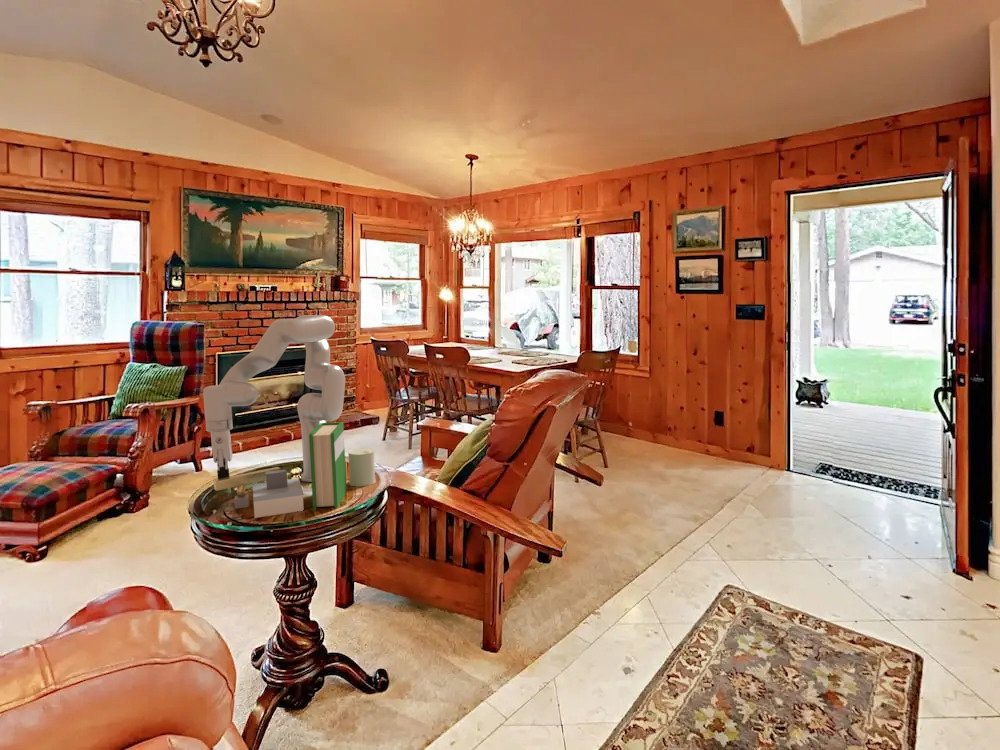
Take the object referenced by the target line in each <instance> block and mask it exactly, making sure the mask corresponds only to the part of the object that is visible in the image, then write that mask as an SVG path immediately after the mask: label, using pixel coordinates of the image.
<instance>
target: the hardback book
mask: <svg viewBox="0 0 1000 750" xmlns="http://www.w3.org/2000/svg"><path fill="white" fill-rule="evenodd" d="M344 426H345V425H344V422H342V421H337V422H334V421H331V422H327V423H320V424H319V425H318V426H317V427H316V428H315V429H314V430H313V431H312V432H311V433H310V434H309V442H310V460H311V479H312V482H311V492H312V493H311V495H312V510H315V511H316V510H317V509H318V508H319V507H334V509H339V506H340V504H341V502H342V500H343V499H344V497H345V495H346V492H347V474H346V473H347V472H346V469H347V468H346V453H345V452H346V451H345V431H344Z"/></svg>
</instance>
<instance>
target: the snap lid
mask: <svg viewBox="0 0 1000 750" xmlns="http://www.w3.org/2000/svg"><path fill="white" fill-rule="evenodd" d="M300 495H303V496H304V490H303V487H302V484H301V480H300V477H298V478H291V479H288V471H287V469H281V470H276V471H268V472H266V480H265V482H257V483H252V496H253V497H252V499H253V503H254V502H256V501H263V500H271V499H278V498H285V497H292V496H300Z"/></svg>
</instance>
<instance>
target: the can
mask: <svg viewBox="0 0 1000 750" xmlns="http://www.w3.org/2000/svg"><path fill="white" fill-rule="evenodd" d="M347 454H348V466H349V467H348V468H349V470H348V471H349V485H350V486H352V487H367V486H371V485H374V484H376V482H377V480H376V471H375V470H376V467H375V466H376V465H375V449H373V448H370V447H369V448H366V447H365V448H363V447H362V448H355V449H351V450H349V451H348V452H347Z"/></svg>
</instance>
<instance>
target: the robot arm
mask: <svg viewBox="0 0 1000 750" xmlns="http://www.w3.org/2000/svg"><path fill="white" fill-rule="evenodd" d="M335 331H336V324H335V322H334V320H333V319H332V318H331V317H330V316H328V315H324V314H314V315H313V314H308V315H305V314H303V315H300V316H297V317H296V318H279V319H276V320H274V321H273V322H271V324H270V325H269V326H268V327H267V329H266V331H265V332H264V333H263V335H262V336H261V337H260V339H259V341H258V342H257V344H256V345H255V347H254V348H253V349H252V350H251V352H249V353H248V354H247V355H245V356H244V357H242V358H241V359H239V361H237V362H236V363H235V364H234V365H232V367H230V369H228V371H226V374H225V375H224V376H223V378H222V379H221V381H220V383H219V384H215V385H214V384H213V385H209V386H206V387H204V388H203V390H202V395H203V405H204V407H203V409H204V419H205V420H204V421H205V431H206V432H208V433H210V439H211V440H210V441H211V451H212V457H213V463H215V464H216V467H217V472H216V473H217V479H219V478H224V477H229V476H230V469H229V462H231V461H232V459H233V449H232V447H233V446H232V437H231V430H233V429H234V424H233V411H232V409H233V408H234V407H247V406H251V405H252V404H254V403H255V402H256V401H257V400H258V399H259V390H258V388H257V387H256V386H255V385H254V384H252V383H249V382H248V381H249V380H251V379H252V378H253V377H255V376H256V375H258V374H260V373H262V372H265V371H267V370H270V369H271V368H274V367H275V366H276V365H277V363H278V362H279V360H280V359H281V357H282V355H283V354H284V352H285V351H286V350H287V348H288V347H289V345H290V344H291V345H292V344H293V345H294V344H297V345H298V344H299V345H301V344H304V347H305V365H304V377H303V378H304V380H303V381H304V384H305V386H306V387H308V389H313V390H319V391H321V393H319V392H317V393H316V392H310V393H309V392H308V393H305V394H303V395H302V396H301V397H300V398H299V400H298V402H297V405H296V406H297V407H296V408H297V414H298V419H299V422H300V429H301V430H300V431H301V447H302V463H303V464H302V466H303V473H301V474H300V475H301V479H302V480H301V481H302V482H307V483H312V479H311V460H310V442H309V434H310V433H311V432H312V431H313V430H314V429H315V428H316V427H317V426H318V425H319V424H320V423H328V422H334V421H337V420H338V419H339V418H340V416H341V415H342V412H343V408H344V401H345V391H346V390H345V389H346V376H345V373H344V371H343V369H342V368H341V367H340V365H339V366H338V365H336V364H331V347H330V344H329V342H328V340H327V339H329V338H331V337H332V336H333V335H334V333H335ZM232 407H233V408H232Z"/></svg>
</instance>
